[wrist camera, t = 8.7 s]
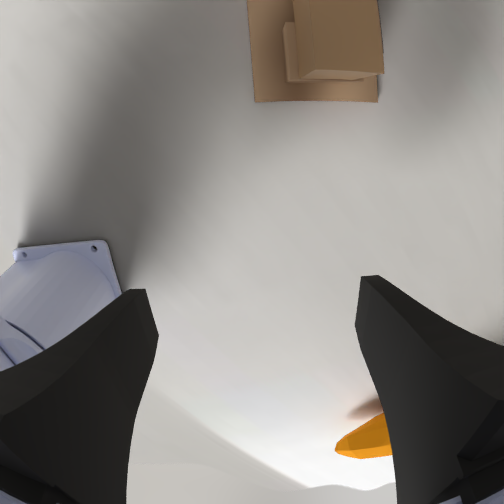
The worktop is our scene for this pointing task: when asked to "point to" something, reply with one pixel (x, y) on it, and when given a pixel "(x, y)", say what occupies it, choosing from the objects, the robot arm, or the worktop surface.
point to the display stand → (291, 61)
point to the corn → (367, 440)
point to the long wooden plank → (338, 39)
